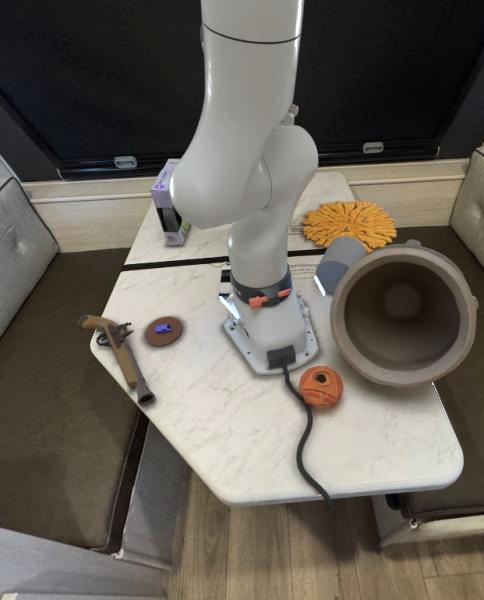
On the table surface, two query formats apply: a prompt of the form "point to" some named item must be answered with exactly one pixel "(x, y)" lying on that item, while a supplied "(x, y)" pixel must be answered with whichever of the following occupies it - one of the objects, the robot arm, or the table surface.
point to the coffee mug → (338, 261)
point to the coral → (350, 224)
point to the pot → (321, 386)
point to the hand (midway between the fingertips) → (253, 131)
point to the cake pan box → (168, 207)
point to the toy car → (163, 331)
